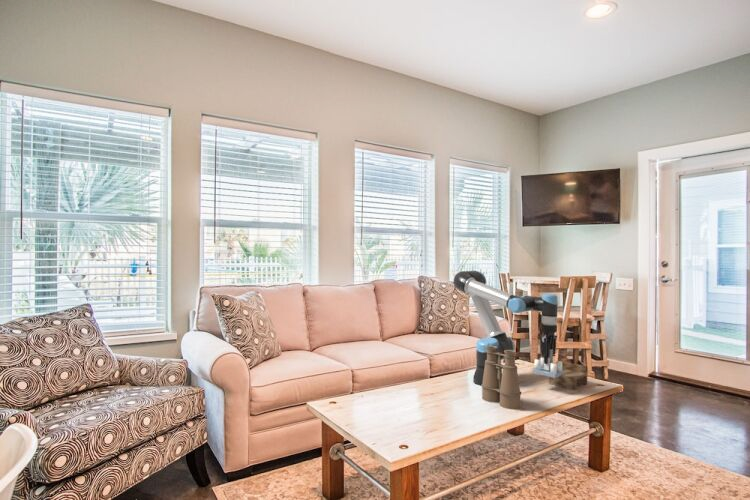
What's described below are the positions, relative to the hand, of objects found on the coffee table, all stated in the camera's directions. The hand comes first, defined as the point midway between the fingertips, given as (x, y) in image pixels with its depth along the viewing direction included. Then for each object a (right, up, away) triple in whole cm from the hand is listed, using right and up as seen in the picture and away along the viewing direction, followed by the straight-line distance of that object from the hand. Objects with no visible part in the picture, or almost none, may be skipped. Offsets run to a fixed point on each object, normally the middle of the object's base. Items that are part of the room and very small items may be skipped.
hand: (548, 369), depth 217 cm
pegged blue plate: (0, -2, 0) cm, 2 cm away
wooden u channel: (+15, -11, +9) cm, 20 cm away
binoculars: (-31, -10, -20) cm, 38 cm away
